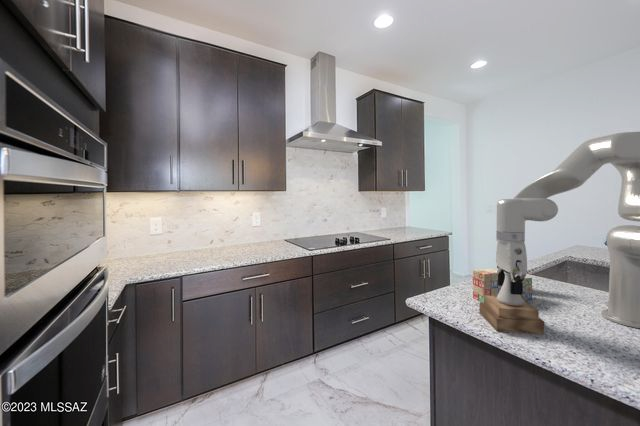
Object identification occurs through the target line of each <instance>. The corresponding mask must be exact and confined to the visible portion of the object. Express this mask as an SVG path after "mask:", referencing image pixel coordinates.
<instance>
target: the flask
mask: <svg viewBox="0 0 640 426" xmlns="http://www.w3.org/2000/svg"><path fill="white" fill-rule="evenodd" d="M504 274H505V280H504V283H503V286H502V288H501V290H500V292H499V294H498V295H497V297H496V299H497V300H498V301H499V302H501V303H504V304H506V305H513V306H520V305H524V302H523V300H522V298H521V295H515V294H511V293H510V281H512V279H511V275H510V273H509V272H507V271H506V272H504ZM514 276H516V275H514Z"/></svg>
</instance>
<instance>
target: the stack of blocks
mask: <svg viewBox="0 0 640 426" xmlns="http://www.w3.org/2000/svg"><path fill="white" fill-rule="evenodd" d="M497 270H498V268H497V267H496V268H482V269H473V271H472V299H474V300H476V301H477V302H479V303H480V302H481V303H484V295H486V296H497V295H498V294H499V292H500V290H501V288H502V286H499V285H498V273H497ZM516 276H517V275H516ZM516 276H515V277H516ZM521 298H522V299H523V300H524V301H532V300H533V278H532V277H531V276H527V275H526V276H525V279H524V282H523V294H522V295H521Z"/></svg>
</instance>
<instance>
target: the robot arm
mask: <svg viewBox="0 0 640 426" xmlns="http://www.w3.org/2000/svg"><path fill="white" fill-rule="evenodd" d="M607 164H610V165H612V166H613V167H614V168H615V169H616V170H617V171H618V173H619V175H620V176H621V186H620V193H619V198H618V199H619V200H618V206H617V214H618V216H619V217H620V218H622V219H624V220H626V221H631V222H640V131H624V132H617V133H612V134H609V135H604V136H599V137H594V138H590V139H588V140H585V141H584V142H582V143H581V144H580V145H578V147H577V148H576V149H574V150H573V152H571V154H569V155H568V156H567V157H566V158H565V159H564V160H563V161H562V162H561V163H560V164H559V165H558V166H557V167H555V169H553V170H552V171H550V172H548V173H546V174H545V175H543V176H541V177H540V178H537V179H536V180H534V181H532V182H531V183H530V184H527V186H525V187H524V188H523V189H521V190H520V191H519V192H518V193H517V194H516V195H515V196H514V197H513V198H503V199H499V200H497V203H496V231H495V232H496V237H495V238H496V242H497V245H496V258H495V262H496V268H498V270H497V273H498V285H499V286H503V283H504V280H505V274H504V272H506V271H507V272H509V273H510V275H511V279H512V281H510V293H511V294H515V295H522V294H523V282H524V279H525V276H527V273H528V257H527V249H526V248H527V247H526V243H525V242H526V241H525V240H526V221H531V222H533V221H534V222H547V221H550V220H552V219H553V218H555V217H556V216H557V214H558V213H559V207H558V204H557V203H556V202H555V201H554V200H552V199H549V198H551V197H553V196H555V195H559V194H562V193H566V192H569V191H572V190H575V189H577V188H579V187H581V186H583V185H584V184H585V183H586V182H587V181H588V180H590V178H591V177H592V176H593V175H594V174H595V173H597V172H598V170H600V169H601V167H603V166H604V165H607ZM605 241H606V246H607V249H608V255H609V276H608V277H609V284H608V306H607V307H608V308H606V309H603V310H601V316H602V317H603V318H604V319H607V320H609V321H611V322H614V323H616V324H620V325H623V326H627V327H632V328H634V329H635V328H636V329H640V225H632V224H629V225H627V224H625V225H624V224H623V225H617V226H615V227H613V228H611V229H610V230H609V231H608V232H607V235H606V239H605ZM513 271H518V272H513ZM514 275H517V276H516V277H515V276H514Z"/></svg>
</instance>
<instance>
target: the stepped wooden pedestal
mask: <svg viewBox="0 0 640 426" xmlns="http://www.w3.org/2000/svg"><path fill="white" fill-rule="evenodd" d="M496 297H497V296H486V295H484V303H481V302H480V301H479V309H478V310H479V311H478V312H479V315H480V316H481V317H482V318H483V319H484V320H485V321H486V322H487V323H488V324H489V325H490V326H491V327H492V328H493V329H494V330H495V331H496V332H503V333H504V332H505V333H519V334H532V335H534V334H536V335H545V321H544V320H543V319H542V318H540V315H539V314H540V310H539V309H538V308H536V307H534V305H531V304H530V303H529V302H528V301H527V300H525V301H524V300H523V299H522V300H523V302H524V305H520V306H513V305H506V304H504V303H501V302H499V301H498V300H497V299H496Z"/></svg>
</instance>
